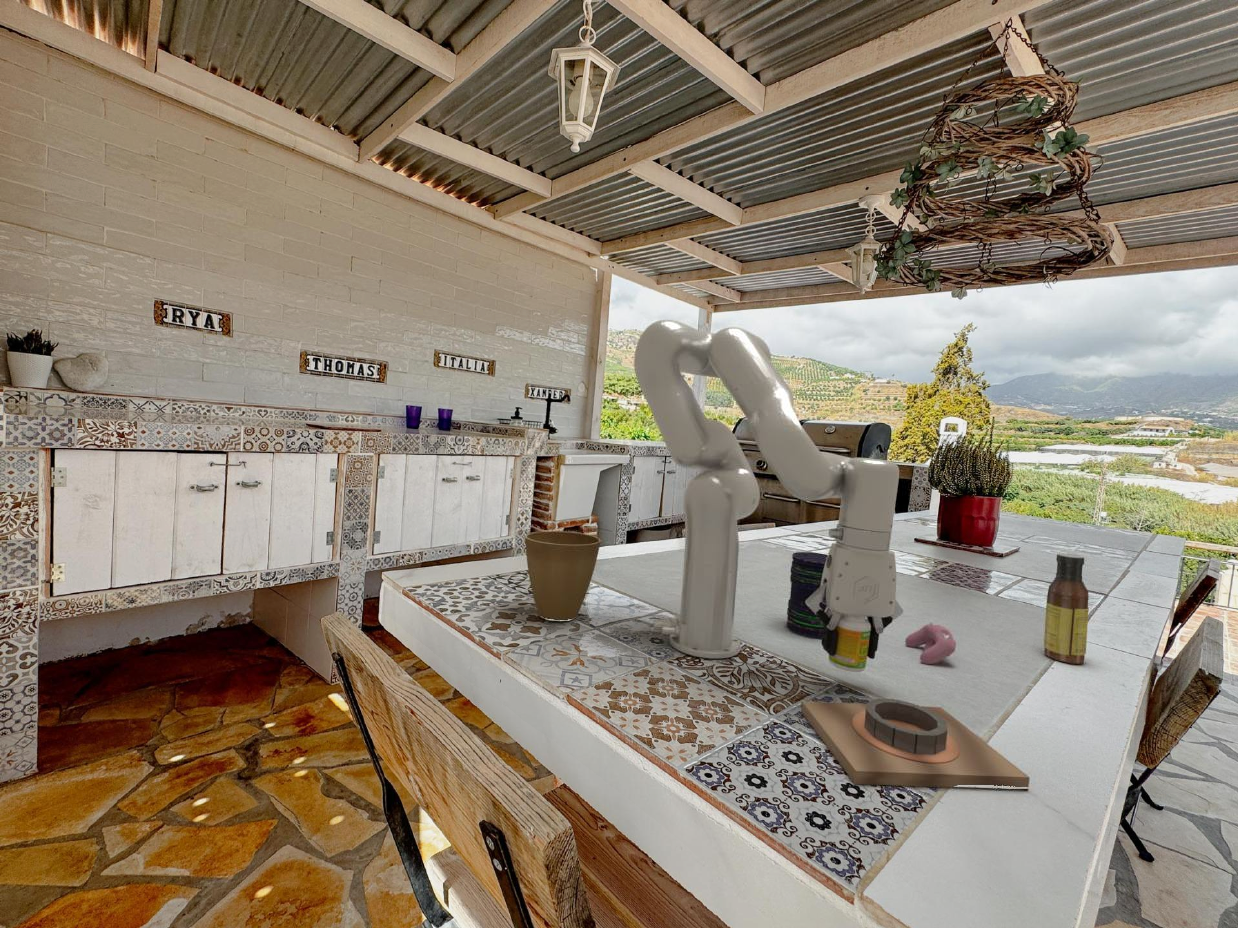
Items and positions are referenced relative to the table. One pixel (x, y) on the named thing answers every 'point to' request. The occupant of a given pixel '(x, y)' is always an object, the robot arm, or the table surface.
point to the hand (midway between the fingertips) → (848, 652)
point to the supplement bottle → (851, 643)
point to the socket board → (905, 770)
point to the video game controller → (932, 643)
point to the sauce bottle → (1067, 612)
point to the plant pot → (560, 571)
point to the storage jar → (805, 594)
